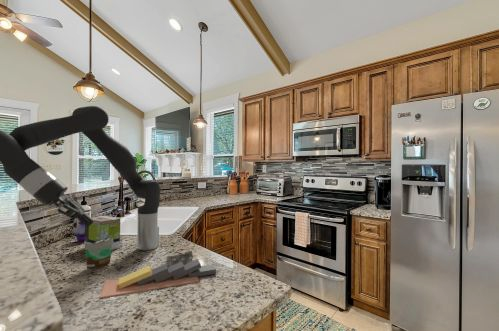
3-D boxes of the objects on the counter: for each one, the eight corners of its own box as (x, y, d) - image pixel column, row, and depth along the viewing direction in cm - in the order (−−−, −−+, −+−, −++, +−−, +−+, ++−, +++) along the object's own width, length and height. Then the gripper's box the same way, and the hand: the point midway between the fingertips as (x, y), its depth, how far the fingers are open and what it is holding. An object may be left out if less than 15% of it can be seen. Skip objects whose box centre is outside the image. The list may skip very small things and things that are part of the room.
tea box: (120, 248, 124) (121, 217, 124) (99, 253, 116) (100, 221, 116) (104, 243, 132) (104, 214, 133) (83, 248, 124) (84, 217, 124)
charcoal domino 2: (154, 278, 85) (183, 266, 89) (154, 273, 90) (181, 261, 94) (156, 283, 86) (185, 270, 89) (155, 277, 90) (183, 265, 94)
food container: (97, 271, 96) (97, 245, 96) (83, 270, 97) (84, 244, 97) (120, 259, 108) (120, 236, 108) (107, 258, 109) (108, 235, 109)
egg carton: (193, 259, 109) (193, 250, 110) (192, 266, 102) (192, 256, 102) (167, 261, 108) (167, 251, 108) (164, 268, 100) (165, 257, 100)
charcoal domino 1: (137, 281, 83) (167, 268, 87) (137, 275, 88) (166, 263, 92) (138, 286, 83) (168, 272, 87) (138, 279, 88) (167, 267, 92)
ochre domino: (118, 284, 81) (150, 270, 85) (119, 278, 86) (149, 265, 89) (119, 289, 81) (151, 275, 85) (121, 282, 86) (151, 269, 90)
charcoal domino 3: (172, 276, 88) (200, 263, 91) (171, 270, 92) (197, 258, 96) (174, 280, 88) (201, 267, 91) (172, 274, 92) (198, 262, 96)
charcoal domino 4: (188, 273, 90) (216, 269, 94) (186, 268, 94) (212, 264, 98) (188, 278, 90) (216, 273, 93) (186, 272, 94) (212, 268, 98)
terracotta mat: (99, 298, 76) (99, 297, 76) (105, 281, 87) (105, 280, 87) (199, 281, 88) (199, 280, 88) (193, 268, 99) (193, 267, 99)
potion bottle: (75, 239, 138) (75, 217, 138) (93, 238, 141) (93, 216, 141) (71, 244, 130) (71, 220, 130) (91, 242, 133) (91, 219, 133)
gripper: (47, 178, 71) (97, 219, 75) (61, 176, 83) (103, 211, 88) (23, 198, 69) (76, 238, 73) (41, 193, 81) (85, 228, 85)
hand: (91, 224), depth 80 cm, fingers closed
